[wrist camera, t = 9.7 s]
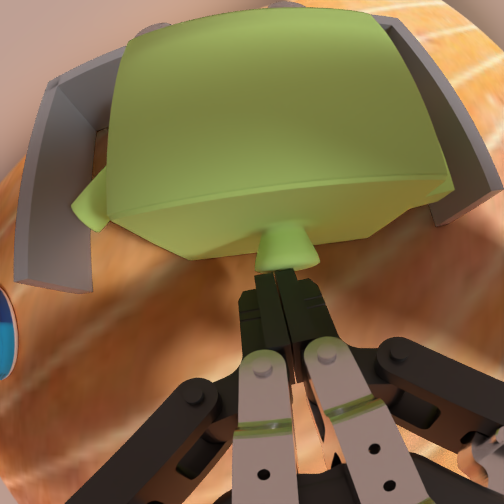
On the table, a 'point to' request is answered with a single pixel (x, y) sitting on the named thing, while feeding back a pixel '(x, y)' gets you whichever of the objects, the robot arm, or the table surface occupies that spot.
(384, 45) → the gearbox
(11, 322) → the beverage bottle
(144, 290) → the table surface
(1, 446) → the table surface
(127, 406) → the table surface
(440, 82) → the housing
